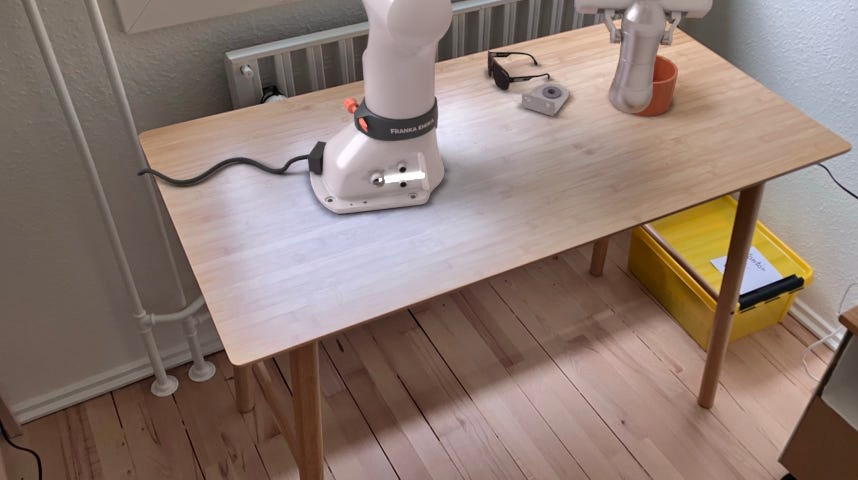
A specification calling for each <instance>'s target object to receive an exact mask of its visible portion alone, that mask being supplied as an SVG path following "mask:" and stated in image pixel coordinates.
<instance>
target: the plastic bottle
mask: <svg viewBox="0 0 858 480" xmlns="http://www.w3.org/2000/svg"><path fill="white" fill-rule="evenodd" d="M660 1H661V0H635V1H634V2H633V3H632V4H631V5H630V6H629V7H628V8H627V9H626V11H625V12H624V14H623V15H621V23H620V29H621V32H622V33H621V42H620V48H619V56H618V62H617V65H616V68H615V73H614V77H613V79H612V81H611V84H610V86H609V91H608V93H609V97H608V99H609V102H610V104H611V105H612V107H613V108H614V109H615V110H617V111H618V112H622V113H624V114H625V113H626V114H632V113H638V112H641V111H643V110H644V109H645V108H647V107H648V105H649V103H650V101H651V98H652V94H653V82H652V81H653V72H654V63H655V59H656V55H658V51H659V47H660V46H661V45H660V42H661V39H662V36H663V34H664V31H666V28H667V24H668V22H667V21H668V20H667V17H666V15H665V13H664V11H663V9H662V7H661V5H660V4H659V2H660Z"/></svg>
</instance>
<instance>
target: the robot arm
mask: <svg viewBox="0 0 858 480" xmlns="http://www.w3.org/2000/svg"><path fill="white" fill-rule="evenodd" d="M360 1H361V3H362V5H363V7H364V10H365V12H366V13H365V14H366V16H367V20H368V21H367V22H368V38H367V45H366V48H365V50H364V51H363V53H362V58H361V61H362V62H361V63H362V72H363V73H362V76H363V77H362V78H363V87H364V88H363V89H364V91H363V92H364V96H363V98H362V101H361V102H360V104H359V103H358V101H357V99H356V98H354V97H347V98H346V99H345V101H344V102H343V105H344V108H346V110H347V113H349V114H352V115H353V120H352V121H351V122H350V123H348V124H347V125H346V126H345V127H343V128H342V129H341V130H340V131H338V132H337V133H336V134H335V135H333V136H332V137H330V138H329V139H328V140H327V142H326V141H321V140H317V142H316V144H315V145H314V147H313V148H312V149H311V151H310V152H309V153H307V154H301V155H297V156H294V157H292V158H290V159H288V160H287V161H286V163H285V164H284V165H283V166H282V167H280V168H271V167H268V166H266V165H264V164H262V163H260V162H258V161H256V160H255V159H252V158H249V157H244V156H238V157H237V156H236V157H230V158H227V159H224V160H222V161H220V162H218V163H216V164H214V165H213V166H212V167H210V168H209V169H207V170H206V171H204V172H202V173H201V174H198V175H197V176H195V177H192V178H188V179H175V178H172V177H169V176H167V175H165V174H163V173H161V172H159V171H158V170H156V169H154V168H149V167H147V168H143V169H140V170H139V171H138V172H137V173H136V176H138V177H140V176H143V175H145V174H151V175H154V176H155V177H157V178H159V179H161V180H163V181H165V182H166V183H167V182H168V183H170V184H173V185H177V186H183V185H184V186H185V185H191V184H194V183H197V182H199V181H202V180H203V179H206V178H207V177H209V176H210V175H211V174H213V173H214V172H216V171H217V170H219V169H220V168H222V167H224V166H226V165H229V164H232V163H247V164H249V165H253V166H255V167H256V168H258V169H260V170H262V171H264V172H267V173H270V174H276V175H277V174H283V173H285V172H286V171H287V170H288V169H289V168H290V167H291V165H293V164H294V163H296V162H299V161H303V160H305V161H306V160H307V164H308V172H309V176H310V177H309V179H310V185H311V188H312V191H313V192H314V195H315V196H316V199H318V201H319V202H320V203H321V204H322V206H323V207H325V208H326V209H327V210H329V211H331V212H333V213H334V214H338V215H339V214H340V215H341V214H351V213H359V212H368V211H376V210H385V209H394V208H395V209H396V208H403V207H411V206H421V205H425V204H426V203H427V202H428V201H429V199H430V197H431V194H432V192H433V191H434V190H435V188H437V187H438V186H439V185H440V184H441V183H442V181H443V180H444V177H445V166H444V163H443V160H442V157H441V153H440V149H439V145H438V144H439V143H438V137H437V128H438V125H439V124H438V121H439V105H438V98H437V96H436V57H437V51H438V47H439V42H440V40H441V39H442V38H443V37H444V36H445V35H446V34H447V32H448V30H449V28H450V26H451V23H452V20H453V4H452V1H451V0H360ZM634 1H635V0H573V3H574V4H573V8H574V9H575V10H576V11H577V14H585V15H588V14H589V15H603V16H602V22H603V24H604V26H605V28H606V29H607V31H608V32H609V44H613V45H614V44H618V45H619V44H620V45H621V33H622V32H621V28H617V27H616V25H615V22H614V21H613V20H614V18H615V16H623V14H624V12H625V11H626V9H627V8H628V7H629V6H630V5H631V4H632V3H633V2H634ZM713 1H714V0H661V1H660V2H659V4H660V5H661V7H662V9H663V11H664V13H665V15H666V18H668V20H667V21H668V22H667V24H669V25H670V24H671V25H670V27H669V28H668V30H665V31H664V34H663V36H662V39H661V42H660V45H659V46H667V47H668V46H671V45H672V44H673V39H674V38H673V37H674V31H675V30H676V28H677V26H678V25H679V23H680V22H681V20H682V18H685V19H686V18H689V19H690V18H691V19H702V18H704V17H705V16H706V15H707V14H708V13H709V12H710V10H712V7H713V3H714V2H713Z"/></svg>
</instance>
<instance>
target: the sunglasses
mask: <svg viewBox="0 0 858 480" xmlns="http://www.w3.org/2000/svg"><path fill="white" fill-rule="evenodd" d="M511 55H523V56H528V57H530V58H531V60H532V61H533V64H534V66H538V61H537V59H535V57H534V56H533V55H532V54H530V53H527V52H522V51H521V52H520V51H490V50H487V74H488V77H493V80H494V83H495V85H496V87H497V88H498V89H500V90H502V91H508V90H509V88H510V85H511V84H513V83H522V82H528V81H531V79H534V78H540V77H541V78H542V77H544V76H547V80H548V81H549V80H550V78H551V75H550V73H548V72H545V73H542V74H538V75H523V76H511V75H510V73H509V72H508V71H507V70H505V68H503V66H502V65H501V64H500V63H498V62H497V60H496V58H508V57H510V56H511Z"/></svg>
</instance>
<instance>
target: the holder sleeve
mask: <svg viewBox="0 0 858 480" xmlns="http://www.w3.org/2000/svg"><path fill="white" fill-rule="evenodd" d="M678 75H679V68H678V67H677V65H676V64H675V62H673V61H672V60H670V59H669V58H667V57H665V56H662V55H659V54H657V55H656V59H655V63H654V72H653V81H652V82H653V94H652V98H651V101H650V103H649V105H648V107H647V108H645V109H644V110H643V111H641V112H638V113H631V114H632V115H636V116H642V117H643V116H645V117H651V116H658V115H661V114H664V113H665V112H667V111H668V110H669V109H670V107H671V106H672V105H671V104H672V102H673V97H674V93H675V88H676V84H677V79H678Z"/></svg>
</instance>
